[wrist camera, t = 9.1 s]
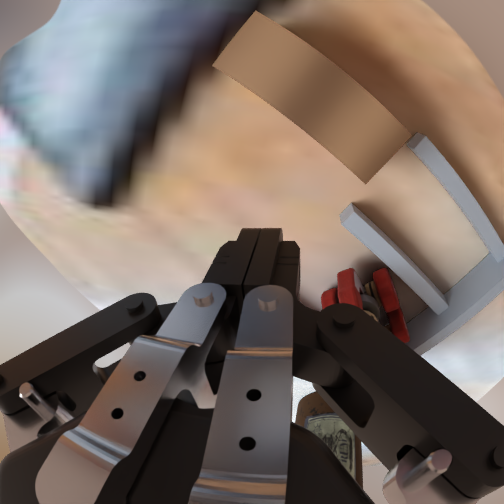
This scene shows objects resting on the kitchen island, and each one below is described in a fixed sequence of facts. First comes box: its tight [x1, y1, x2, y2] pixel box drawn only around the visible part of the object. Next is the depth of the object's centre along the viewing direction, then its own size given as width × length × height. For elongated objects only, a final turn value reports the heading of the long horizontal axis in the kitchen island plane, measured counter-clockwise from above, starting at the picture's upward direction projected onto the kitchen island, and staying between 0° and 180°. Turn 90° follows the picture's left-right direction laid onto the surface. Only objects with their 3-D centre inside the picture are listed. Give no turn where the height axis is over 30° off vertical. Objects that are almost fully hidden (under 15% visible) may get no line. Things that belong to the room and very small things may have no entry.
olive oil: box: [295, 392, 363, 489], centre depth 29 cm, size 11×11×25 cm
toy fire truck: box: [321, 268, 410, 343], centre depth 25 cm, size 7×12×10 cm, turn 32°
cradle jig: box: [340, 132, 504, 356], centre depth 25 cm, size 16×22×4 cm
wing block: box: [212, 11, 412, 184], centre depth 18 cm, size 12×4×6 cm, turn 53°
